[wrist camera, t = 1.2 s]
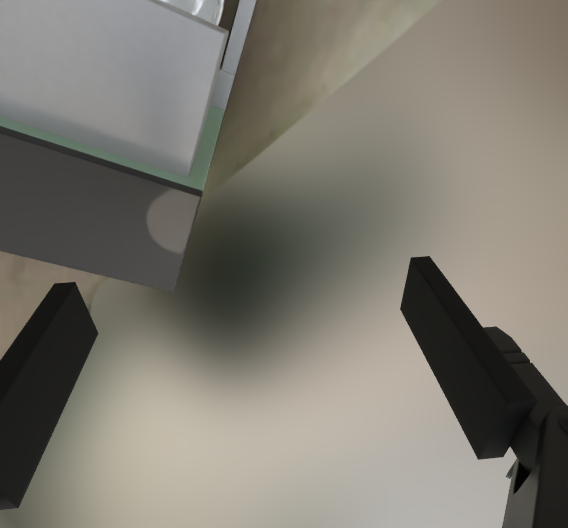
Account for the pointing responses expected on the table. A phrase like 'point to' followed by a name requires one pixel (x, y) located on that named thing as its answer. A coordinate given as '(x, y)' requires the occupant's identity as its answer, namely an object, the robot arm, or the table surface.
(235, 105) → the table surface
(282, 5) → the table surface
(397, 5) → the table surface
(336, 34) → the table surface
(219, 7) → the white cup
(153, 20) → the coffee machine
